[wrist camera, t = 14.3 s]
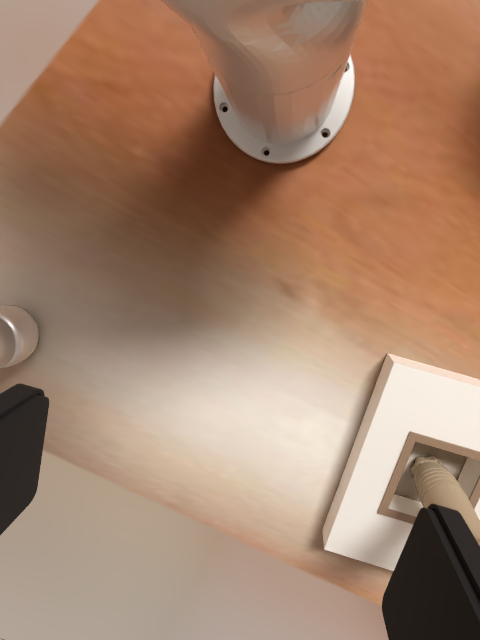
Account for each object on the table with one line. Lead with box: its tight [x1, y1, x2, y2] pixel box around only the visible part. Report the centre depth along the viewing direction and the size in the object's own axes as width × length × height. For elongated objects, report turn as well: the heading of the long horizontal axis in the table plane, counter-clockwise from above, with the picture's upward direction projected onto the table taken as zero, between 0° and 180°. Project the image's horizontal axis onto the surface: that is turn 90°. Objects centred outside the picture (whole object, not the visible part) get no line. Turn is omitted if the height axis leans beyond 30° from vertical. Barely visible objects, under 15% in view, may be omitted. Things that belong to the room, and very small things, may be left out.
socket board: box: [322, 353, 480, 571], centre depth 43 cm, size 22×16×3 cm
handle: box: [411, 456, 480, 546], centre depth 37 cm, size 5×6×15 cm
